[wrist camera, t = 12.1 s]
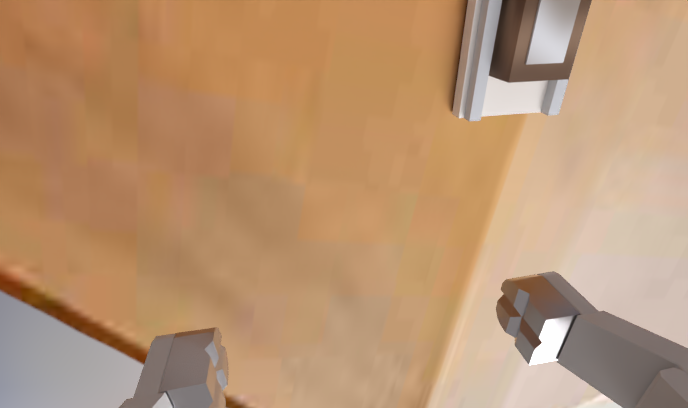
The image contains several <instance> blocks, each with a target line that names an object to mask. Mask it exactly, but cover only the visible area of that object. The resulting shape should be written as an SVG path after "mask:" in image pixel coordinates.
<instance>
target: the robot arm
mask: <svg viewBox="0 0 688 408" xmlns="http://www.w3.org/2000/svg"><path fill="white" fill-rule="evenodd" d="M501 291H502V292H503V293H504V295H503V296H502V297H501V298H500V299H499V300H498V302H497V307H496V312H497V318H498V320H499V322H500V325H501V326H502V328H503V329H504V331H505V332H506V333H508V334H510V335H511V336H513V337H515V346H516V348H517V349H518V350H519V352H520V353H521V355H522V356H523V357H524V359H525V360H526V361H527V363H528V364H529V365H532V364H538V363H544V362H550V361H556V360H557V362H558V363H559V364H561V365H562V366H563V367H565V368H566V369H568V370H569V371H571V372H572V373H574V374H575V375H576V376H578V377H579V378H581V379H582V380H584V381H585V382H587V383H588V384H589V385H591V386H592V387H594V388H595V389H597V390H598V391H600V392H601V393H602V394H604V395H605V396H607V397H608V398H610V399H611V400H613V401H614V402H615V403H617V404H618V405H620V406H621V407H623V408H688V348H686V347H684V346H681V345H679V344H677V343H675V342H672V341H670V340H668V339H666V338H663V337H661V336H659V335H657V334H654V333H652V332H650V331H648V330H646V329H643V328H641V327H639V326H637V325H634V324H632V323H630V322H628V321H625V320H623V319H621V318H619V317H616V316H614V315H612V314H610V313H608V312H605V311H598V310H597V309H596V308H595V307H593V306H592V305H591V304H590V303H589V302H588V301H587V300H586V299H585V298H584V297H583V296H582V295H581V294H580V293H579V292H578V291H577V290H576V289H574V288H573V287H572V286H571V285H570V284H569V283H568V282H567V281H566V280H565V279H564V278H563V277H562V276H561V275H560V274H558V273H556V272H554V271H553V272H547V273H541V274H537V275H535V274H534V275H529V276H523V277H518V278H512V279H506V280H505V281H504V282H503V283H502V287H501ZM221 337H222V336H221V333H220V331H219V328H209V329H202V330H195V331H188V332H180V333H175V334H168V335H161V336H156V337H155V339H154V340H153V341H152V343H151V346H150V349H149V352H148V355H147V358H146V361H145V364H144V367H143V370H142V373H141V376H140V379H139V382H138V385H137V388H136V391H135V394H134V397H133V398H131V399H126V401H125V402H124V403H123V404H122V405H121V406H120V407H119V408H225V405H226V400H225V397H224V394H223V390H224V388H225V387H226V386H227V384H228V358H227V353H226V349H225V347H223V346H222V345H221Z"/></svg>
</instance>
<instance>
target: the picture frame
mask: <svg viewBox="0 0 688 408" xmlns="http://www.w3.org/2000/svg"><path fill="white" fill-rule="evenodd" d="M591 1H592V0H502V4H501V10H500V15H499V21H498V26H497V32H496V38H495V43H494V49H493V54H492V60H491V65H490V71H489V76H491V77H494V78H496V79H499V80H502V81H505V82H508V83H513V82H530V81H548V80H565V79H569V76H570V73H571V69H572V66H573V63H574V59H575V56H576V52H577V49H578V45H579V42H580V39H581V35H582V32H583V28H584V25H585V21H586V18H587V15H588V11H589V8H590V4H591Z"/></svg>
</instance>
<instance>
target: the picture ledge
mask: <svg viewBox="0 0 688 408" xmlns="http://www.w3.org/2000/svg"><path fill="white" fill-rule="evenodd" d="M501 4H502V0H468V4H467V11H466V18H465V26H464V33H463V40H462V47H461V54H460V62H459V69H458V76H457V83H456V90H455V98H454V105H453V112H452V114H453V115H455V116H456V117H458V118H465V119H467V120H468V121H479V120H481V116H495V115H508V114H522V113H536V112H541V113H544V114H546V115H558V114H559V111H560V108H561V104H562V101H563V97H564V94H565V90H566V87H567V84H568V80H569V79H565V80H548V81H530V82H513V83H508V82H505V81H502V80H499V79H496V78H494V77H491V76H489V71H490V65H491V60H492V54H493V49H494V43H495V38H496V32H497V26H498V21H499V15H500V10H501ZM590 5H591V4H590ZM585 22H586V21H585ZM583 29H584V28H583ZM578 46H579V45H578ZM576 53H577V52H576ZM571 70H572V69H571ZM569 77H570V76H569Z"/></svg>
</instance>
